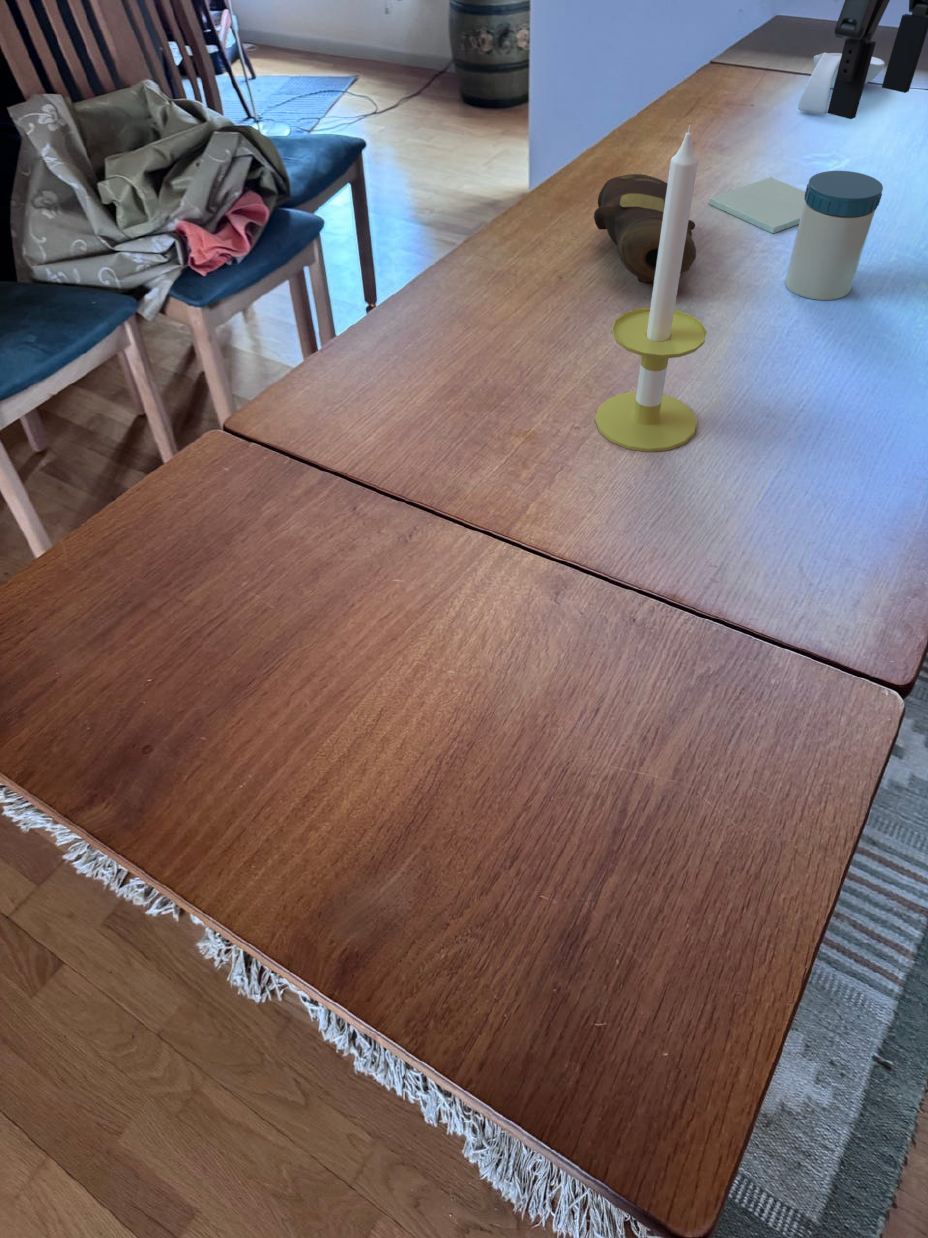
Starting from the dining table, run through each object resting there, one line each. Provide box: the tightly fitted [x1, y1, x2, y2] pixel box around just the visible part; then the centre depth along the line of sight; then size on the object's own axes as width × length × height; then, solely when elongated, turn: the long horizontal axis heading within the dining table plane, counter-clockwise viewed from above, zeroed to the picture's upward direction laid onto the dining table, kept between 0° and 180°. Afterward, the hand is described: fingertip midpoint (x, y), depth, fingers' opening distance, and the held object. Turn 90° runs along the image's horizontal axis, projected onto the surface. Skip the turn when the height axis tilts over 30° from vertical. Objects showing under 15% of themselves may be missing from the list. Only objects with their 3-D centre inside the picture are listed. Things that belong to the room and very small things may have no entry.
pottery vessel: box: [593, 173, 697, 283], centre depth 107 cm, size 12×20×8 cm, turn 177°
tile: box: [707, 176, 806, 234], centre depth 120 cm, size 12×12×1 cm
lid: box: [804, 170, 884, 216], centre depth 97 cm, size 8×8×2 cm
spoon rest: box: [797, 52, 886, 115], centre depth 148 cm, size 24×12×7 cm, turn 148°
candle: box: [594, 124, 707, 453], centre depth 77 cm, size 10×10×27 cm
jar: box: [784, 202, 876, 301], centre depth 101 cm, size 8×8×11 cm
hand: (868, 101), depth 91 cm, fingers open, 10 cm apart
